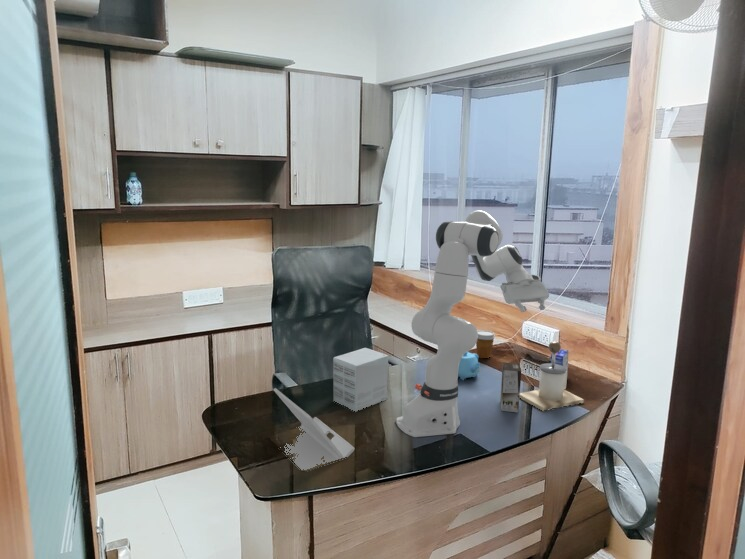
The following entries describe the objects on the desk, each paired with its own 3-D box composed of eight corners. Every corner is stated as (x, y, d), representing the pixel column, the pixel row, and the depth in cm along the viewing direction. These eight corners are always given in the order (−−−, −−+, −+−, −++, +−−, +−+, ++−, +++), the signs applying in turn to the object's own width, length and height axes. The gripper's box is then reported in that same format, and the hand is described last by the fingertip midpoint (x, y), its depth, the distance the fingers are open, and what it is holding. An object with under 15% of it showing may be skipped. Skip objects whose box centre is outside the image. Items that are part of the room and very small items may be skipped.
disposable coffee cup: (473, 359, 247) (475, 335, 245) (473, 352, 256) (474, 329, 254) (494, 360, 245) (495, 336, 243) (493, 354, 255) (494, 330, 252)
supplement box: (364, 389, 209) (365, 346, 206) (388, 399, 200) (389, 355, 196) (332, 401, 197) (332, 356, 194) (355, 413, 188) (356, 365, 184)
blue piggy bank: (442, 379, 221) (443, 353, 219) (449, 368, 234) (450, 344, 232) (478, 384, 216) (480, 358, 214) (483, 373, 229) (484, 348, 227)
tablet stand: (302, 473, 149) (302, 418, 146) (267, 438, 169) (266, 389, 166) (355, 455, 159) (356, 403, 156) (316, 424, 179) (316, 377, 176)
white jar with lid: (549, 403, 195) (552, 373, 193) (532, 393, 204) (534, 365, 202) (572, 398, 200) (575, 369, 197) (554, 389, 208) (557, 361, 206)
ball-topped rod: (552, 369, 196) (554, 344, 194) (544, 366, 200) (546, 340, 198) (561, 368, 198) (563, 342, 196) (553, 364, 202) (555, 339, 200)
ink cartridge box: (554, 374, 229) (556, 342, 226) (567, 376, 226) (570, 345, 223) (548, 381, 221) (551, 348, 218) (562, 384, 218) (564, 351, 215)
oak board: (542, 411, 191) (542, 407, 191) (517, 397, 204) (518, 393, 204) (583, 403, 199) (583, 399, 199) (557, 389, 212) (557, 386, 212)
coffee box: (518, 412, 190) (521, 371, 187) (500, 411, 191) (503, 369, 188) (517, 402, 199) (520, 362, 196) (499, 401, 200) (502, 361, 197)
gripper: (502, 278, 208) (516, 308, 201) (542, 276, 216) (557, 304, 209) (495, 287, 212) (508, 316, 205) (534, 284, 221) (549, 312, 214)
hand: (533, 310), depth 207 cm, fingers open, 8 cm apart
